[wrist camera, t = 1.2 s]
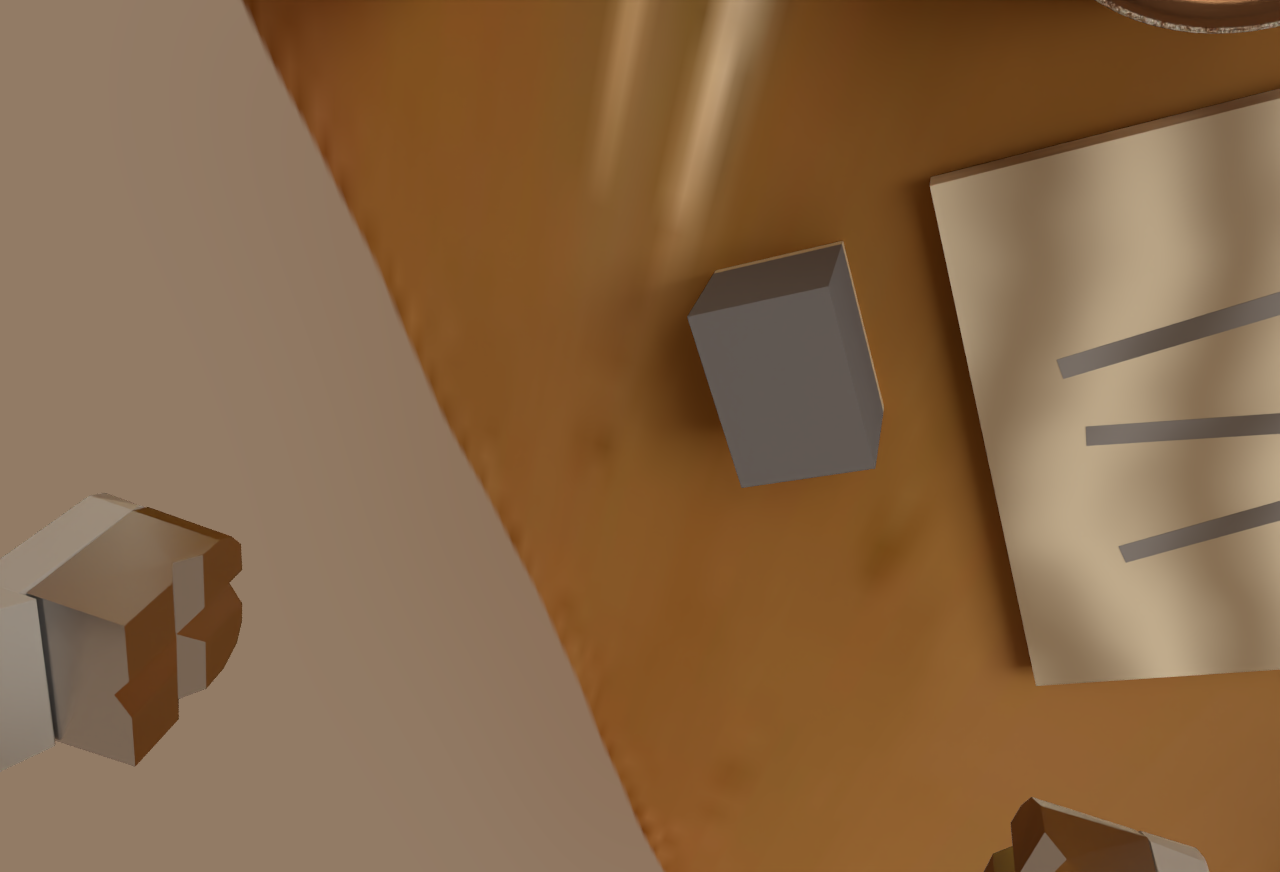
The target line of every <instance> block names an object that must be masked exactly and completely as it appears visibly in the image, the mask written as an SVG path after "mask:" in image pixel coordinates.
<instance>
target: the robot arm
mask: <svg viewBox="0 0 1280 872" xmlns="http://www.w3.org/2000/svg"><path fill="white" fill-rule="evenodd" d="M241 570H242V559H241V544H240V543H239V542H238V541H236V540H235V539H234V538H232V537H231V536H228V535H226V534H223V533H220V532H217V531H214V530H212V529H209V528H206V527H203V526H200V525H197V524H195V523H192V522H189V521H186V520H183V519H180V518H178V517H175V516H172V515H169V514H166V513H163V512H161V511H158V510H155V509H152V508H149V507H147V508H145V507H143V506H140V505H137V504H134V503H132V502H129V501H126V500H123V499H121V498H118V497H115V496H112V495H110V494H107V493H102V494H96V495H90V496H88V497H86V498H85V499H83V500H82V501H81V502H79V503H78V504H76V505H75V506H74V507H72V508H71V509H69V510H68V511H67V512H65V513H64V514H62V515H61V516H60V517H58V518H57V519H55V520H54V521H53V522H51V523H50V524H48V525H47V526H45V527H44V528H43V529H41V530H40V531H38V532H37V533H36V534H34V535H33V536H31V537H30V538H29V539H27V540H26V541H24V542H23V543H22V544H20V545H19V546H17V547H16V548H14V549H13V550H12V551H10V552H9V553H7V554H6V555H5V556H3V557H2V558H0V772H1V771H3V770H5V769H7V768H9V767H11V766H13V765H15V764H17V763H20V762H22V761H24V760H26V759H28V758H30V757H32V756H34V755H36V754H39V753H41V752H43V751H45V750H47V749H49V748H51V747H53V746H55V741H58V742H62V743H65V744H67V745H71V746H74V747H77V748H80V749H83V750H86V751H89V752H92V753H95V754H99V755H101V756H104V757H107V758H111V759H114V760H117V761H120V762H123V763H126V764H129V765H132V766H136V765H137V764H138V763H139V762H140V761H141V760H142V759H143V757H144V756H145V755H146V754H147V753H148V752H149V751H150V750H151V749H152V748H153V746H154V745H155V744H156V743H157V742H158V741H159V740H160V739H161V738H162V737H163V736H164V735H165V733H166V732H167V731H168V730H169V729H170V728H171V727H172V726H173V725H174V723H175V722H176V721H177V720H178V719H179V714H178V713H179V709H178V708H179V705H178V704H179V699H180V698H182V697H185V696H188V695H190V694H193V693H196V692H198V691H201V690H204V689H206V688H207V687H208V686H209V685H210V684H211V682H212V681H213V680H214V679H215V678H216V677H217V676H218V674H219V673H220V672H221V671H222V670H223V668H224V666H225V665H226V663H227V661H228V659H229V657H230V655H231V653H232V651H233V649H234V647H235V645H236V643H237V640H238V636H239V631H240V627H241V623H242V602H241V601H240V600H239V598H238V596H237V595H236V593H235V591H234V590H233V588H232V587H231V585H230V583H229V582H230V581H231V580H232V579H233V578H234V577H235V576H236V575H237V574H238V573H239V572H240V571H241ZM1011 833H1012V844H1013V846H1011V847H1009V848H1006V849H1004V850H1001V851H999V852H996V853H994V854H993V855H992V857H991V859H990V861H989V863H988V865H987V866H986V868H985V870H984V872H1209V870H1208V866H1207V863H1206V860H1205V858H1204V857H1203V856H1202V854H1201V853H1200V852H1199V851H1198V850H1197V848H1194V847H1191V846H1188V845H1185V844H1182V843H1178V842H1175V841H1172V840H1169V839H1165V838H1162V837H1159V836H1156V835H1152V834H1149V833H1146V832H1143V831H1139V832H1137V831H1135V830H1134V829H1131V828H1128V827H1125V826H1122V825H1118V824H1115V823H1112V822H1109V821H1106V820H1103V819H1099V818H1096V817H1093V816H1090V815H1087V814H1084V813H1081V812H1077V811H1074V810H1071V809H1068V808H1065V807H1062V806H1059V805H1055V804H1052V803H1049V802H1046V801H1043V800H1040V799H1036V798H1033V797H1031V798H1029V799H1028V800H1027V801H1026V802H1025V803H1023V804H1022V805H1021V806H1020V808H1019V810H1018V811H1017V813H1016V815H1015V817H1014V818H1013V820H1012V822H1011Z"/></svg>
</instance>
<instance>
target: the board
mask: <svg viewBox="0 0 1280 872" xmlns="http://www.w3.org/2000/svg"><path fill="white" fill-rule="evenodd" d="M930 190H931V194H932V199H933V204H934V208H935V213H936V218H937V222H938V227H939V232H940V237H941V241H942V246H943V251H944V255H945V260H946V265H947V269H948V274H949V279H950V283H951V288H952V293H953V298H954V302H955V307H956V312H957V316H958V321H959V326H960V330H961V335H962V340H963V345H964V349H965V354H966V359H967V363H968V368H969V373H970V377H971V382H972V387H973V392H974V396H975V401H976V406H977V410H978V415H979V420H980V424H981V429H982V434H983V439H984V443H985V448H986V453H987V457H988V462H989V467H990V471H991V476H992V481H993V486H994V490H995V495H996V500H997V504H998V509H999V514H1000V518H1001V523H1002V528H1003V533H1004V537H1005V542H1006V547H1007V551H1008V556H1009V561H1010V565H1011V570H1012V575H1013V579H1014V584H1015V589H1016V594H1017V598H1018V603H1019V608H1020V612H1021V617H1022V622H1023V626H1024V631H1025V636H1026V641H1027V645H1028V650H1029V655H1030V659H1031V664H1032V669H1033V673H1034V678H1035V683H1036V686H1041V685H1056V684H1071V683H1086V682H1101V681H1116V680H1131V679H1145V678H1160V677H1175V676H1190V675H1205V674H1220V673H1235V672H1250V671H1264V670H1279V669H1280V89H1276V90H1272V91H1268V92H1264V93H1260V94H1256V95H1252V96H1248V97H1244V98H1240V99H1236V100H1232V101H1229V102H1225V103H1221V104H1217V105H1213V106H1209V107H1205V108H1201V109H1197V110H1193V111H1189V112H1185V113H1181V114H1177V115H1173V116H1169V117H1166V118H1162V119H1158V120H1154V121H1150V122H1146V123H1142V124H1138V125H1134V126H1130V127H1126V128H1122V129H1118V130H1114V131H1110V132H1106V133H1103V134H1099V135H1095V136H1091V137H1087V138H1083V139H1079V140H1075V141H1071V142H1067V143H1063V144H1059V145H1055V146H1051V147H1047V148H1043V149H1039V150H1036V151H1032V152H1028V153H1024V154H1020V155H1016V156H1012V157H1008V158H1004V159H1000V160H996V161H992V162H988V163H984V164H980V165H976V166H973V167H969V168H965V169H961V170H957V171H953V172H949V173H945V174H941V175H937V176H933V177H931V178H930Z"/></svg>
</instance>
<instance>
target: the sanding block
mask: <svg viewBox="0 0 1280 872" xmlns="http://www.w3.org/2000/svg"><path fill="white" fill-rule="evenodd" d="M687 318H688V321H689V324H690V327H691V330H692V334H693V337H694V340H695V343H696V346H697V349H698V352H699V355H700V359H701V362H702V365H703V368H704V371H705V374H706V377H707V381H708V384H709V387H710V390H711V393H712V396H713V399H714V403H715V406H716V409H717V412H718V415H719V418H720V421H721V425H722V428H723V431H724V434H725V437H726V440H727V443H728V447H729V450H730V453H731V456H732V459H733V462H734V465H735V469H736V472H737V475H738V478H739V481H740V484H741V487H742V488H744V487H751V486H758V485H765V484H772V483H779V482H785V481H792V480H799V479H806V478H813V477H820V476H827V475H833V474H840V473H847V472H854V471H861V470H868V469H875V467H876V460H877V453H878V446H879V439H880V432H881V425H882V418H883V411H884V405H883V401H882V397H881V393H880V389H879V385H878V381H877V377H876V373H875V369H874V365H873V361H872V357H871V352H870V348H869V344H868V340H867V336H866V332H865V328H864V324H863V320H862V316H861V312H860V308H859V304H858V300H857V296H856V292H855V288H854V283H853V279H852V275H851V271H850V267H849V263H848V259H847V255H846V251H845V247H844V243H843V241H840V242H835V243H831V244H827V245H823V246H818V247H814V248H810V249H805V250H801V251H797V252H793V253H788V254H784V255H780V256H775V257H771V258H767V259H763V260H758V261H754V262H750V263H745V264H741V265H737V266H732V267H728V268H724V269H720V270H716V271H715V272H714V274H713V276H712V277H711V279H710V280H709V282H708V284H707V285H706V287H705V289H704V290H703V292H702V293H701V295H700V297H699V298H698V300H697V302H696V303H695V305H694V307H693V308H692V310H691V311H690V313H689V315H688V316H687Z"/></svg>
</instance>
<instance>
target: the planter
mask: <svg viewBox="0 0 1280 872" xmlns="http://www.w3.org/2000/svg"><path fill="white" fill-rule="evenodd" d="M1096 1H1097V2H1099V3H1100V4H1102V5H1104V6H1106V7H1107V8H1109V9H1111V10H1113V11H1115V12H1117V13H1119V14H1122V15H1124V16H1126V17H1129V18H1131V19H1134V20H1136V21H1140V22H1143V23H1146V24H1149V25H1153V26H1157V27H1162V28H1166V29H1171V30H1177V31H1185V32H1192V33H1211V34H1213V33H1237V32H1248V31H1256V30H1261V29H1267V28H1273V27H1277V26H1280V0H1096Z"/></svg>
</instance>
